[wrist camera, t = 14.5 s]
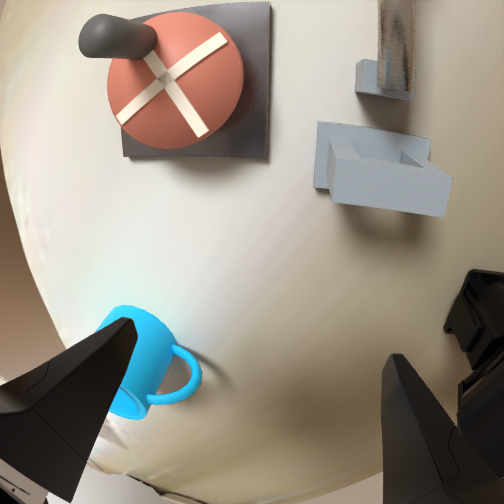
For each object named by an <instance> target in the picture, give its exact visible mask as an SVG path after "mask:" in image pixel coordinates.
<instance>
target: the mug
mask: <svg viewBox="0 0 504 504" xmlns="http://www.w3.org/2000/svg"><path fill="white" fill-rule="evenodd" d="M120 317H128V318H132V319H133V320H134V323H135V326H136V330H137V333H138V340H137V343H136V346H135V349H134V352H133V354H132V357H131V360H130V363H129V366H128V369H127V371H126V374H125V376H124V379H123V381H122V383H121V385H120V387H119V389H118V391H117V394H116V396H115V398H114V400H113V402H112V405H111V407H110V409H109V412H111V413H114V414H116V415H118V416H121V417H124V418H128V419H134V420H140V419H143V418H144V417H145V416H146V414H147V412H148V410H149V408H150V406H151V404H154V405H164V404H173V403H176V402H179V401H182V400H185V399H186V398H188V397H189V396H191V395H192V394H194V393H195V392H196V390H197V389H198V387H199V386H200V384H201V379H202V370H201V367H200V365H199V362H198V361H197V360H196V358H195V357H194V356H193V355H192V354H191V353H190V352H188V351H187V350H185V349H183V348H182V347H180V346H177V345H176V341H175V339H174V336H173V334H172V333H171V332H170V330H169V329H168V328H167V326H166V325H165V324H164V323H162V322H161V321H160V320H159V319H158V318H157V317H155V316H154V315H152V314H150V313H149V312H147V311H145V310H143V309H140V308H137V307H134V306H127V305H121V306H118V307H115V308H114V309H113V310H112V311H111V312H110V313H109V315H108V316H107V317H106V318H105V320H104V321H103V322H102V324H101V325H100V326H99V328H98V329H97V330H96V332H97V331H98V330H100V329H102V328H103V327H105V326H107V325H109V324H110V323H112V322H114V321H115V320H117V319H119V318H120ZM174 355H178V356H179V357H181V358H183V359H184V360H186V362H187V363H188V364H189V365H190V367H191V370H192V376H191V379H190V381H189V382H188V384H187V385H186V386H184V387H183V388H181V389H180V390H178V391H176V392H172V393H169V394H162V395H156V393H157V391H158V389H159V387H160V385H161V382H162V380H163V378H164V376H165V374H166V372H167V370H168V368H169V366H170V364H171V362H172V360H173V357H174Z"/></svg>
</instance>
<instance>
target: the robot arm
mask: <svg viewBox="0 0 504 504" xmlns="http://www.w3.org/2000/svg"><path fill="white" fill-rule="evenodd" d="M473 275H474V276H473ZM472 276H473V277H472ZM444 331H445V333H447V334H455V335H456V337H457V340H458V342H459V345H460V347H461V350H462V352H466V355H467V358H468V360H469V363H470V366H471V369H472V370H473V371H474V370H475V371H474V372H473V373H471V374H470V375H469V376H468V377H467V378H466V379H465V380H462V381H461V382H460V383H459V384H458V412H457V427H458V428H457V427H456V426H454V423H453V421H452V420H451V418H450V417H449V416H448V414H447V413H446V411H445V410H444V409H443V407H442V406H441V404H440V403H439V402H438V400H437V399H436V398H435V396H434V395H433V393H432V392H431V391H430V389H429V388H428V387H427V385H426V384H425V383H424V381H423V380H422V379H421V377H420V376H419V375H418V373H417V372H416V371H415V369H414V368H413V367H412V366H411V364H410V363H409V362H408V360H407V359H406V358H405V356H404V355H403V354H398V353H392V354H390V356H389V358H388V360H387V362H386V364H385V366H384V368H383V371H382V397H381V424H382V444H383V504H504V273H502V272H494V271H486V270H477V269H472V270H470V271H469V273H468V275H467V277H466V279H465V282H464V284H463V287H462V289H461V291H460V294H459V295H458V298H457V300H456V302H455V304H454V306H453V309H452V311H451V313H450V315H449V317H448V320H447V322H446V324H445V326H444ZM137 340H138V333H137V330H136V326H135V323H134V320H133V319H132V318H128V317H120V318H119V319H117V320H115V321H114V322H112V323H110V324H109V325H107V326H105V327H103V328H102V329H100V330H98V331H97V332H95V333H93V334H92V335H90V336H88V337H87V338H85V339H83V340H82V341H80V342H78V343H77V344H75V345H73V346H72V347H70V348H68V349H67V350H65V351H64V352H62V353H60V354H58V355H57V356H55V357H53V358H52V359H50V361H47V362H45V363H43V364H42V365H40V366H38V367H37V368H35V369H33V370H31V371H29V372H27V373H25V374H23V375H21V376H19V377H17V378H15V379H13V380H11V381H9V382H7V383H5V384H3V385H1V386H0V504H48V501H47V498H46V496H47V494H48V492H51V493H53V494H54V495H56V496H58V497H60V498H62V499H63V500H65V501H67V502H69V503H71V501H72V499H73V496H74V494H75V491H76V488H77V486H78V484H79V481H80V478H81V476H82V473H83V471H84V468H85V466H86V463H87V460H88V458H89V456H90V453H91V451H92V448H93V446H94V443H95V441H96V439H97V436H98V434H99V432H100V429H101V427H102V425H103V423H104V420H105V418H106V416H107V413H108V411H109V409H110V407H111V405H112V402H113V400H114V398H115V396H116V394H117V391H118V389H119V387H120V385H121V383H122V381H123V379H124V376H125V374H126V371H127V369H128V366H129V363H130V360H131V357H132V354H133V352H134V349H135V346H136V343H137Z"/></svg>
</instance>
